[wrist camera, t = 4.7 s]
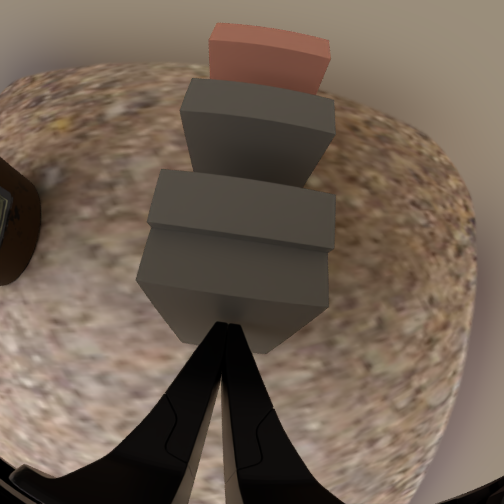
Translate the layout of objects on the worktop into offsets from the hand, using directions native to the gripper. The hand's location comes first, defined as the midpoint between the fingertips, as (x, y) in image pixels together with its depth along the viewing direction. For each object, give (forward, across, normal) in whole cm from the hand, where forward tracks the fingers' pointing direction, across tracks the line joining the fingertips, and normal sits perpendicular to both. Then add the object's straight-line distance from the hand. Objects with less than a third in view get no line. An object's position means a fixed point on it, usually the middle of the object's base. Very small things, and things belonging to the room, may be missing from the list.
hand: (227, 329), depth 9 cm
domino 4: (+13, 0, -3) cm, 14 cm away
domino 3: (+10, 0, 0) cm, 10 cm away
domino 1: (+4, 0, +6) cm, 7 cm away
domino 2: (+7, 0, +3) cm, 8 cm away
